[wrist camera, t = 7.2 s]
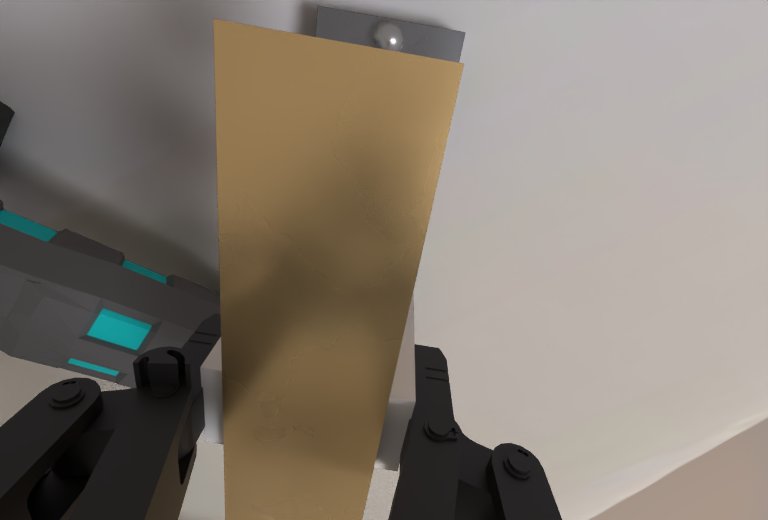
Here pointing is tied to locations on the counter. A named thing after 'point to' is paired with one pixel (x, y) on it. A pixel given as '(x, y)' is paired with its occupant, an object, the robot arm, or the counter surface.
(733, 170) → the counter surface
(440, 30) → the chain end
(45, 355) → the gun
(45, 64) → the counter surface
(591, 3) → the counter surface
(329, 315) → the gold bar
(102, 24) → the counter surface
